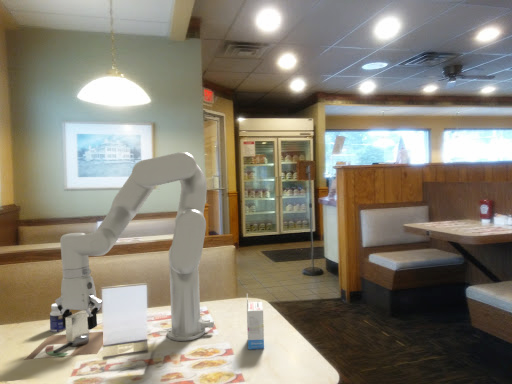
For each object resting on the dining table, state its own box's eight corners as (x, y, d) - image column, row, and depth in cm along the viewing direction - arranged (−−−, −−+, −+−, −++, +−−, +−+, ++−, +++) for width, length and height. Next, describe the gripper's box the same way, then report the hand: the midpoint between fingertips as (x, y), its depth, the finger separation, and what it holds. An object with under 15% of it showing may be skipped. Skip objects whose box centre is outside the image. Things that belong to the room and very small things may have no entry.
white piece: (79, 337, 119) (78, 309, 119) (94, 338, 118) (93, 310, 117) (46, 354, 107) (45, 323, 107) (63, 356, 106) (61, 325, 105)
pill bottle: (61, 336, 124) (59, 307, 124) (46, 335, 125) (45, 306, 125) (72, 329, 130) (71, 301, 130) (58, 328, 131) (57, 301, 131)
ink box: (264, 349, 110) (263, 300, 109) (248, 350, 110) (246, 300, 109) (263, 337, 118) (261, 291, 118) (247, 338, 118) (246, 292, 118)
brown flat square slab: (112, 334, 125) (112, 330, 125) (96, 358, 107) (96, 353, 107) (50, 339, 122) (49, 334, 122) (23, 364, 105) (23, 359, 105)
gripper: (107, 270, 116) (111, 324, 116) (64, 269, 121) (67, 320, 121) (89, 276, 108) (93, 333, 109) (44, 275, 114) (48, 329, 114)
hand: (80, 326), depth 115 cm, fingers open, 9 cm apart
